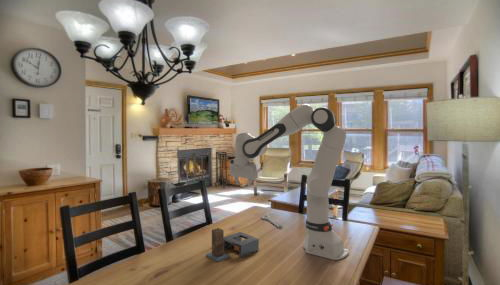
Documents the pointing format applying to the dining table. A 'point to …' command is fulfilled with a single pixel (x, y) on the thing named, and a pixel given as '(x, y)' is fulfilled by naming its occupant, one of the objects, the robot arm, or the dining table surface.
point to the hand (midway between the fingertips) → (243, 185)
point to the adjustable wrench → (272, 221)
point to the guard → (242, 243)
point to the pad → (217, 257)
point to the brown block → (217, 242)
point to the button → (236, 248)
